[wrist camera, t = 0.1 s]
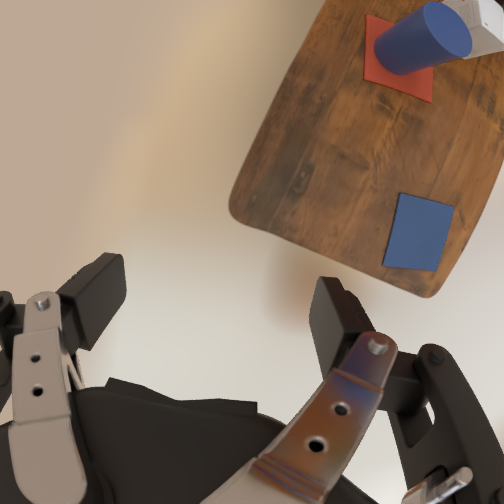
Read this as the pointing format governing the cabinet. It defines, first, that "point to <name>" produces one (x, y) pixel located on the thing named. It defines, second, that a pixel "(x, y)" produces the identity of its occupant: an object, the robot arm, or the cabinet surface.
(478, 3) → the small box
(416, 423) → the robot arm
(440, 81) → the cabinet surface
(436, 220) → the blue mat
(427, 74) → the terracotta mat
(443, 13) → the blue can
